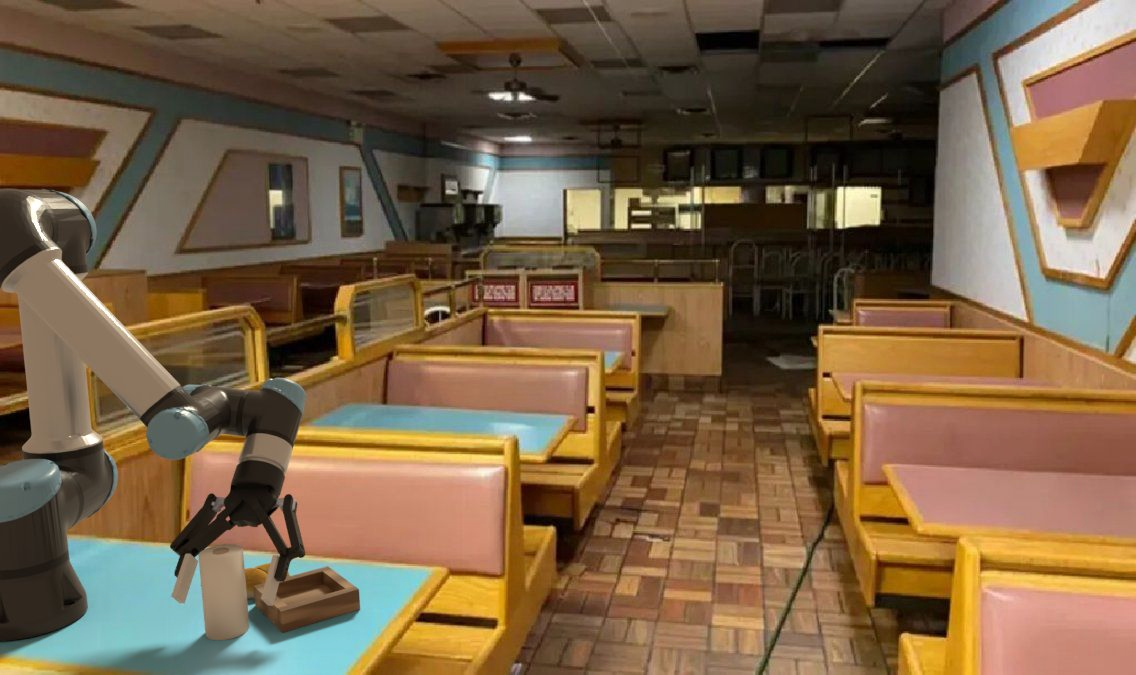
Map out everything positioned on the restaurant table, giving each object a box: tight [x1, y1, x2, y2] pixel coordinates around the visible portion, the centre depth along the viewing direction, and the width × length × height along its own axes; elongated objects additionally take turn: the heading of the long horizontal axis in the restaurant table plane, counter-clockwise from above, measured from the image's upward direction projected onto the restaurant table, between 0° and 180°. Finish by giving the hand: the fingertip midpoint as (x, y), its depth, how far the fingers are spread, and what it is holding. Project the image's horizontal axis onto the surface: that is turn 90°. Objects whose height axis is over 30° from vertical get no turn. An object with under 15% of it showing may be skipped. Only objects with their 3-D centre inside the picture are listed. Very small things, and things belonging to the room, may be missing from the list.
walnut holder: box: [254, 565, 361, 633], centre depth 142 cm, size 12×12×3 cm
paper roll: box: [197, 543, 250, 641], centre depth 134 cm, size 6×6×12 cm
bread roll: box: [245, 562, 291, 600], centre depth 150 cm, size 8×9×4 cm
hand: (222, 601), depth 133 cm, fingers open, 13 cm apart
